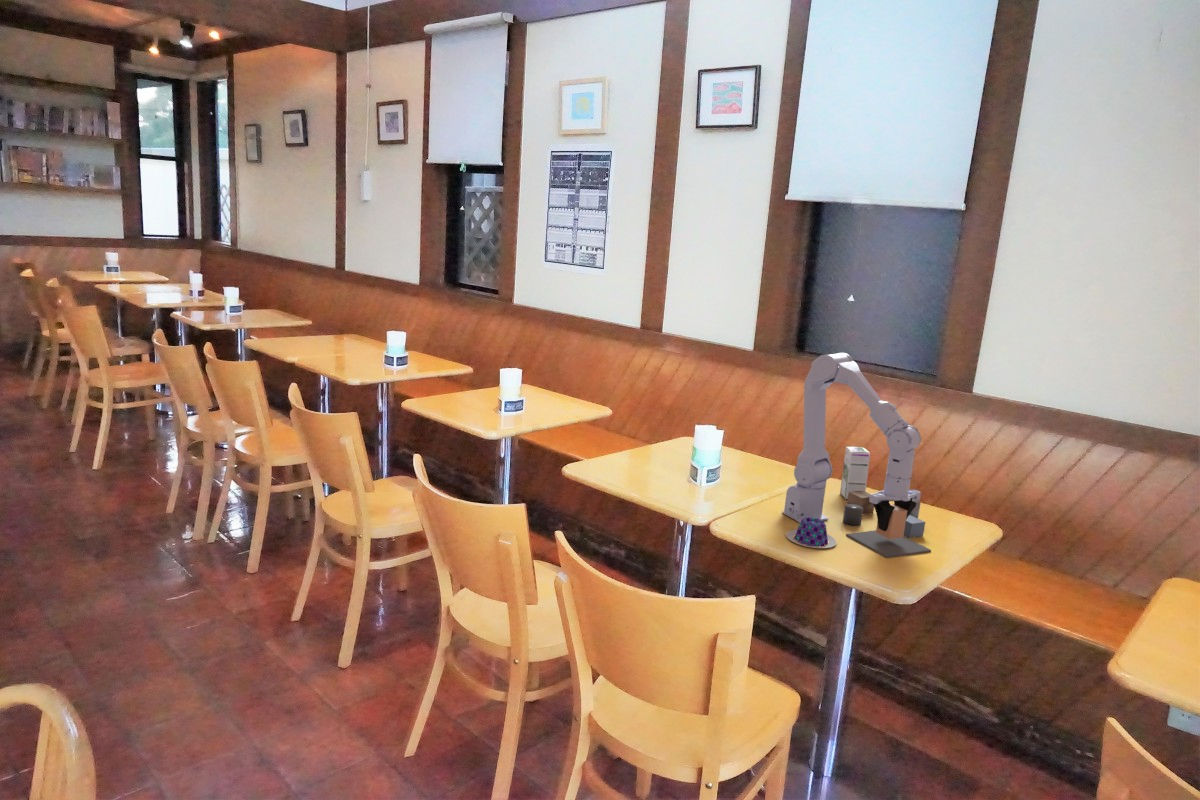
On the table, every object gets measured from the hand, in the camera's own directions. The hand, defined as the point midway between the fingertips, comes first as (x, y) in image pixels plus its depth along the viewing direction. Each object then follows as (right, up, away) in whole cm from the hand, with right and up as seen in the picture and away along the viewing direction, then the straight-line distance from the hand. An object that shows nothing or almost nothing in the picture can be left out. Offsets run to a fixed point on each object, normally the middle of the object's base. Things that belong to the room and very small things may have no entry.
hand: (890, 528), depth 195 cm
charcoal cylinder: (-5, -1, +14) cm, 15 cm away
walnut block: (0, +1, +24) cm, 24 cm away
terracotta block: (0, -2, 0) cm, 2 cm away
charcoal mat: (0, -4, +1) cm, 4 cm away
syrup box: (+2, +3, +35) cm, 35 cm away
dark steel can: (+12, -1, +19) cm, 23 cm away
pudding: (-20, -3, 0) cm, 20 cm away
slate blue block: (+8, -3, +9) cm, 12 cm away
